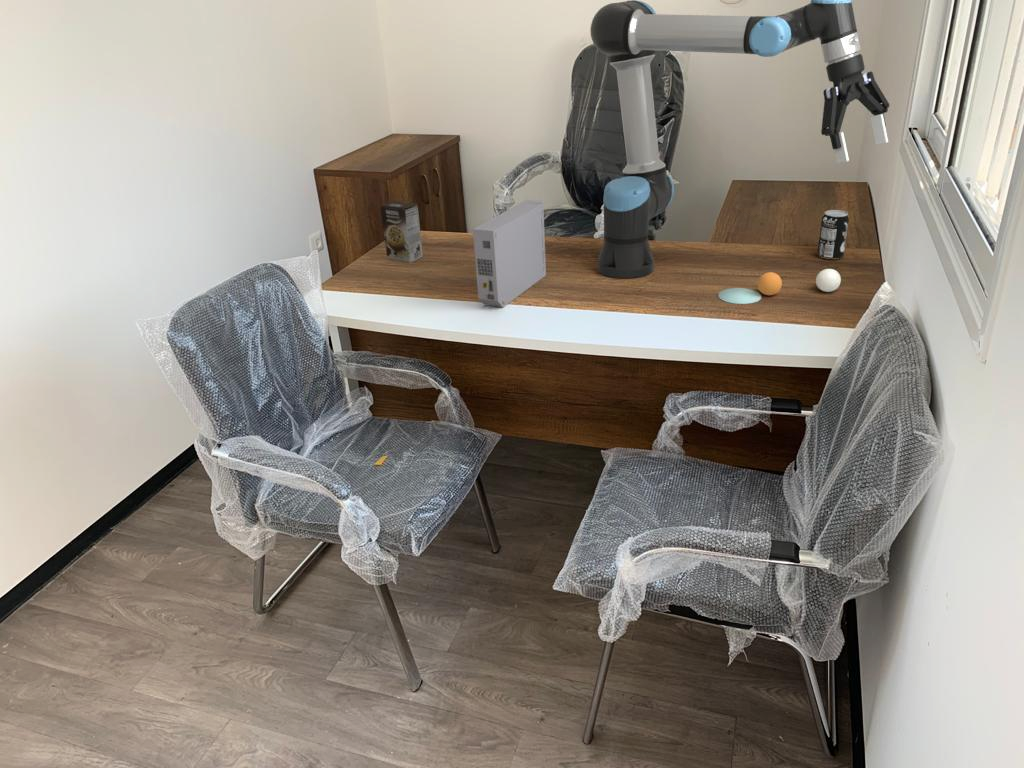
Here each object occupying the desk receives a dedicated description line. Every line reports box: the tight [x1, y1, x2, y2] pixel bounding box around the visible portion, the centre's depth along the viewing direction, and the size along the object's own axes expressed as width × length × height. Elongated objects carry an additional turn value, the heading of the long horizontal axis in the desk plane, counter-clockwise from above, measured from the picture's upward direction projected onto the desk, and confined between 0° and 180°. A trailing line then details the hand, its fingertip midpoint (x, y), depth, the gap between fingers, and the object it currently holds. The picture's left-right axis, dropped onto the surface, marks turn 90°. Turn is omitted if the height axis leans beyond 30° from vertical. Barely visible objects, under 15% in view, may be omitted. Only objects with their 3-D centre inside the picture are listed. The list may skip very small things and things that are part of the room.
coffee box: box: [379, 200, 424, 264], centre depth 220 cm, size 9×6×16 cm
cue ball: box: [815, 268, 842, 293], centre depth 182 cm, size 6×6×6 cm
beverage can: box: [816, 209, 850, 259], centre depth 201 cm, size 7×7×12 cm
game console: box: [472, 199, 547, 308], centre depth 191 cm, size 6×27×20 cm, turn 152°
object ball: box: [757, 271, 783, 296], centre depth 182 cm, size 6×6×6 cm
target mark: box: [717, 287, 762, 305], centre depth 183 cm, size 10×10×1 cm
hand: (862, 152), depth 175 cm, fingers open, 13 cm apart
